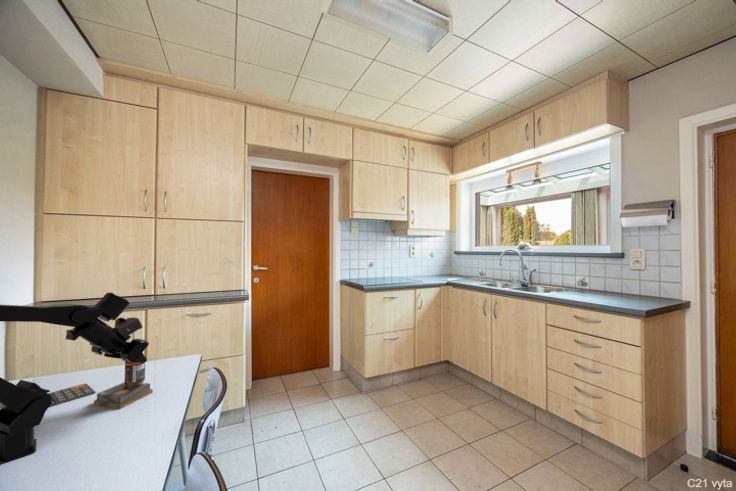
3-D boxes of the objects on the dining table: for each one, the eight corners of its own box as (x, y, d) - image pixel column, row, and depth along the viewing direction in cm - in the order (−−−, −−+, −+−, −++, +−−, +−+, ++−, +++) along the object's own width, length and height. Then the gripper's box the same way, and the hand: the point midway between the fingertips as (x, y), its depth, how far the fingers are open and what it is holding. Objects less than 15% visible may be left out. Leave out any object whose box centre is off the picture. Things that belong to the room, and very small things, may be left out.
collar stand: (152, 392, 99) (152, 383, 99) (120, 408, 89) (120, 398, 89) (128, 389, 102) (128, 379, 102) (93, 404, 91) (94, 394, 92)
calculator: (96, 391, 99) (27, 411, 86) (95, 394, 99) (27, 415, 86) (85, 382, 105) (21, 400, 93) (85, 385, 105) (21, 403, 93)
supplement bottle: (121, 384, 93) (122, 352, 93) (140, 378, 98) (140, 348, 98) (129, 387, 91) (129, 355, 91) (148, 381, 95) (148, 350, 95)
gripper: (142, 313, 88) (177, 340, 98) (104, 308, 95) (140, 334, 105) (110, 348, 80) (152, 374, 90) (71, 340, 87) (114, 365, 97)
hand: (140, 360), depth 96 cm, fingers closed on supplement bottle, 5 cm apart
